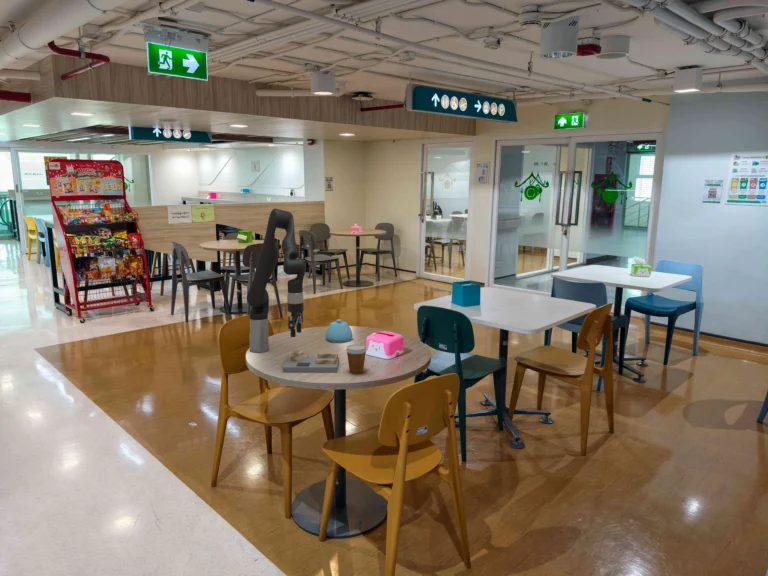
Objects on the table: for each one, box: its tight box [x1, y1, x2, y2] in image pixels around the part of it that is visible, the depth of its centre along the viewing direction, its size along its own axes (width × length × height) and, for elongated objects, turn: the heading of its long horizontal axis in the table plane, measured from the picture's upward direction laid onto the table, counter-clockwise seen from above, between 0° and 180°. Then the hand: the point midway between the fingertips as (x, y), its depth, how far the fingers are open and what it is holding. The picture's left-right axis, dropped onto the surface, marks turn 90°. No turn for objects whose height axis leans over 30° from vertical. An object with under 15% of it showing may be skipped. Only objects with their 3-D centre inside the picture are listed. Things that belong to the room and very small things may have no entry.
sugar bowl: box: [325, 318, 353, 344], centre depth 314 cm, size 15×15×12 cm
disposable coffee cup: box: [345, 344, 368, 375], centre depth 260 cm, size 10×10×12 cm
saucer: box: [287, 352, 309, 358], centre depth 282 cm, size 10×10×1 cm
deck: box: [282, 356, 340, 374], centre depth 267 cm, size 25×15×2 cm, turn 90°
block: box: [289, 349, 304, 362], centre depth 270 cm, size 5×5×4 cm
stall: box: [315, 353, 339, 364], centre depth 269 cm, size 10×10×2 cm
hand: (296, 334), depth 268 cm, fingers open, 8 cm apart
